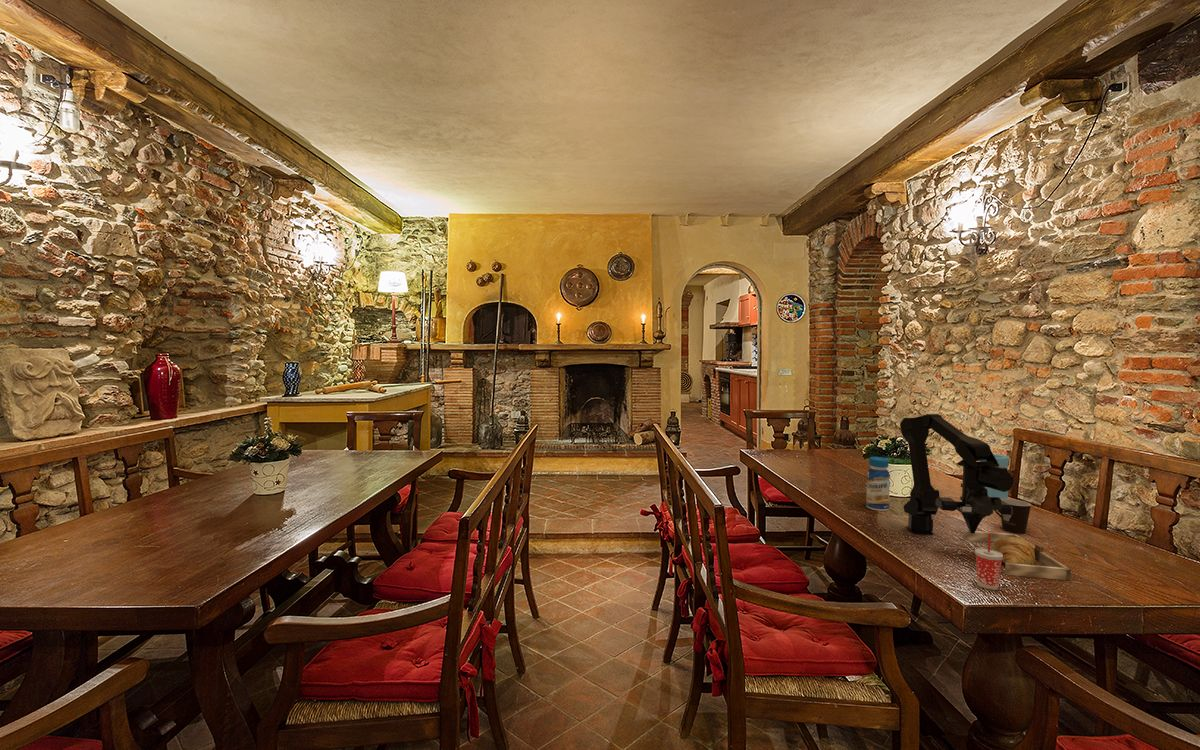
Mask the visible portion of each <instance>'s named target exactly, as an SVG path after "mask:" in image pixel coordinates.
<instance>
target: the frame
mask: <svg viewBox="0 0 1200 750" xmlns="http://www.w3.org/2000/svg"><path fill="white" fill-rule="evenodd" d="M988 534H991V538H990V543H992V544H993V543H995V542H996V541H997V540H999V539H1001V538H1005V537H1018V538H1022V539H1023V540H1025V541H1027V540H1026V539H1024V538H1023V537H1021V536H1020V535H1019V534H1015V533H1007V532H1006V533H1005V532H1003V533H1002V532H991V531H978V530H976V531H975V533H974V534H971V533H970V532H969V530H963V540H964V541H967V542H968V541H969V542H980V543H981V542H984V543H988ZM1027 542H1028V543H1029V544H1030V545H1031V546H1032V548H1033V549H1034V553H1035V561H1038V562H1039V563H1040V564H1042V565H1035V564H1034V565H1025V564H1013V563H1004V565H1005V566H1004V567H1005V568H1004V569H1005V570H1004V573H1005V575H1006V576H1007V575H1008V576H1017V577H1018V576H1019V577H1029V578H1037V579H1038V578H1039V579H1051V580H1060V581H1061V580H1062V581H1071V577H1072V574H1071V573H1072V570H1071V568H1069V567H1068V566H1066V565H1064V564H1063V563H1061V562H1059V561H1058V560H1056V559H1055V558H1053V557H1052V556H1051V555H1049V554H1047V553H1046V552H1045V551H1044V549H1045V548H1044V546H1042V545H1041V544H1037V543H1036V544H1032V543H1031V542H1029V541H1027Z"/></svg>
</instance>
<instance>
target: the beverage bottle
mask: <svg viewBox="0 0 1200 750" xmlns="http://www.w3.org/2000/svg"><path fill="white" fill-rule="evenodd" d="M889 463H890V462H889V458H887V457H882V456H871V457H869V459H868V465H869V467H870V468H868V470H867V472H866V476H867V478H866V480H865V482H866V498H865V499H866V501H865V506H866V508H868V509H870V510H873V511H878V512H884V511H889V509H890V487H891V481H890V478H891V474H890V471H889V470H888V468H889Z"/></svg>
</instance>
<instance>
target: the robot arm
mask: <svg viewBox="0 0 1200 750" xmlns="http://www.w3.org/2000/svg"><path fill="white" fill-rule="evenodd" d="M899 422H900V423H899V429H900V432H901V436H902V437H903V438H904V440H905V441H906V442H907V444H908V449H909V456H910V458H909V459H910V465H911V472H912V479H913V487H912V488H911V491H910V493H909V501H907V502H906V503H905V504H904V505H902V506H903V510H904V513H907V514H908V517H907V518H908V520H907V521H908V523H907V525H906V528H907V529H908V530H909V532H911V534H919V535H920V534H923V535H934V532H933V531H934V519H933V518H932V517H933V516H936V515H937V512H938V510H939V509H940V510H942V511H946V512H948V511H949V512H955V511H958V512H959V513H960V514H961V515H962V517H963V519H964V521H965V524H966V527H967V528H968V531H969V532H970V533H971V534H974V533H975V531H977V529H978V527H979V526H980V523H981V522H982V521H983V519H985V518H986V517H990V516H991V515H993V514H994V512H995V511H994V510H996V511H997V512H998V513H999V514H1000V515H1001V514H1005V515H1013V508H1012V506H1011V505H1009V504H1008V503H1006V502H1004V501H1001V499H1000V498H999V497H989V496H988V491H987V489H986V488H985V487H988V488H992V489H995V490H998V491H1002V492H1006V491H1008V492H1009V491H1010V490H1011V489H1012V488H1013V486H1014V481H1015V480H1014V479H1013V475H1012V474H1011V473H1010V472H1008V467H1007V468H1004V467H999V464H998V462H997V460H996V458H995V457H994V455H993V454H994V453H993V452H992V450H991V445H989V443H987V442H985V441H983V440H981V439H979V438H976V437H973V436H972V437H971V436H969V435H967V434H966V433H964V432H963V431H961V430H960V429H958V428H957V427H956V426H954V425H953V424H951V423H950V422H948V421H947V420H946V419H944V418H943V417H942V415H941V414H938V413H927V414H923V415H919V416H916V417H915V416H914V417H904V418H903V419H902V420H901V421H899ZM930 430H933V431H934V432H935V433H936V434H938V435H939V436H940V437H941V438H943V439H944V440H946V441H947V442H948V443H950V444H951V446H953V447H954V451H955V453H956V454H957V455H958V456H959V457H960V458H961V460H960V461H958V462H957V463H956V464H957V466H961V467H962V482H961V483H960V487H961V488H962V489H961V491H962V492H961V495H960V498H959V499H960V501H959V500H958V501H957V500H955V499H954V498H952V497H945V496H941V495H940V491H939V490H938V489H935V488H934V486H933V485H932V483H931V477H930V468H929V463H928V462H929V461H928V455H927V447H926V441H927V439H928V437H929V436H930V435H929V434H930ZM986 460H987V461H986Z"/></svg>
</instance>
